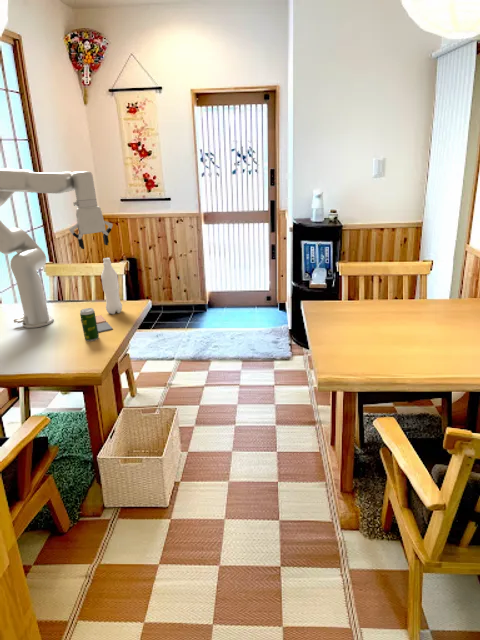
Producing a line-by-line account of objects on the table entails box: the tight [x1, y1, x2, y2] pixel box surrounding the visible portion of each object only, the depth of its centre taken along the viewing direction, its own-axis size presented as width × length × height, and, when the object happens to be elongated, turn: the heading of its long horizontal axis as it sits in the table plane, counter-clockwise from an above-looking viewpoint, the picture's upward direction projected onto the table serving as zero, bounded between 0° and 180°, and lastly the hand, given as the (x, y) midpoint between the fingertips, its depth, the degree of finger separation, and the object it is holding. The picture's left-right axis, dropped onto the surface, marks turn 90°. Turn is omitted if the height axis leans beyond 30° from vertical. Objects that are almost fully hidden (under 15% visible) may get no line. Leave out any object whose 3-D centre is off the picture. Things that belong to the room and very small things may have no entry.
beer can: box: [79, 307, 100, 342], centre depth 180 cm, size 5×5×12 cm
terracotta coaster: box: [80, 314, 107, 324], centre depth 201 cm, size 9×9×1 cm
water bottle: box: [100, 257, 123, 315], centre depth 207 cm, size 7×7×25 cm
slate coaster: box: [97, 321, 114, 334], centre depth 192 cm, size 9×9×1 cm
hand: (94, 246), depth 190 cm, fingers open, 9 cm apart
